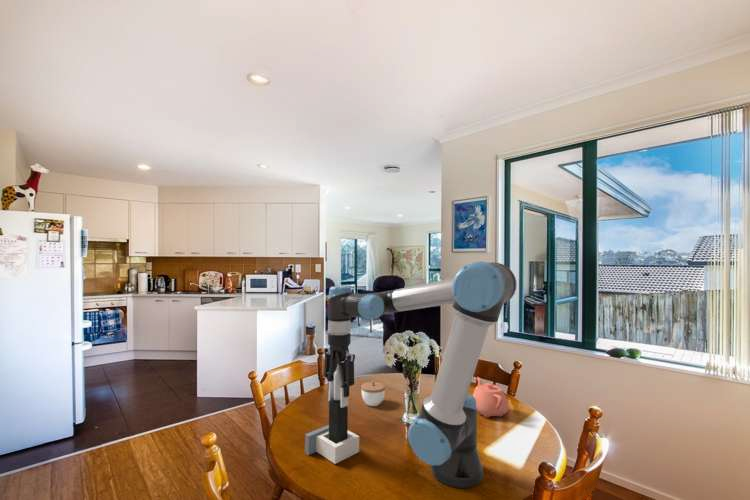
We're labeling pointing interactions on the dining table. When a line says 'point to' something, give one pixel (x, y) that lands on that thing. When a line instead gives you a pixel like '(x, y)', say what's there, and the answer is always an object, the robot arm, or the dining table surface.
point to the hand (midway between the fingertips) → (338, 403)
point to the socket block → (337, 447)
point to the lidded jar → (373, 393)
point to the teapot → (490, 400)
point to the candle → (337, 412)
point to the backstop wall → (313, 439)
